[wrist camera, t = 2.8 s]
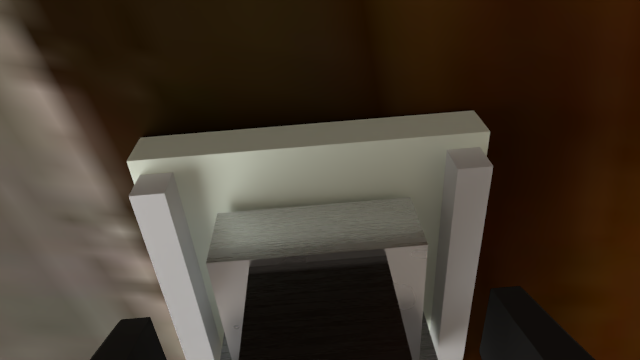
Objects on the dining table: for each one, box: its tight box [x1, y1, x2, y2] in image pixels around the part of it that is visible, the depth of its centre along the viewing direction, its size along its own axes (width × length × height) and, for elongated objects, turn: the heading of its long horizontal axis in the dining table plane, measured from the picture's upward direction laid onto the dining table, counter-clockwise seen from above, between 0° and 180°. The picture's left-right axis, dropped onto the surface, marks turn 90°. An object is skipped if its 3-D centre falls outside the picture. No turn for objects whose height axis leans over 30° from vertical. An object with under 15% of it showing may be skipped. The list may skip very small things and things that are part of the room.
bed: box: [127, 110, 493, 360], centre depth 14 cm, size 10×9×2 cm
